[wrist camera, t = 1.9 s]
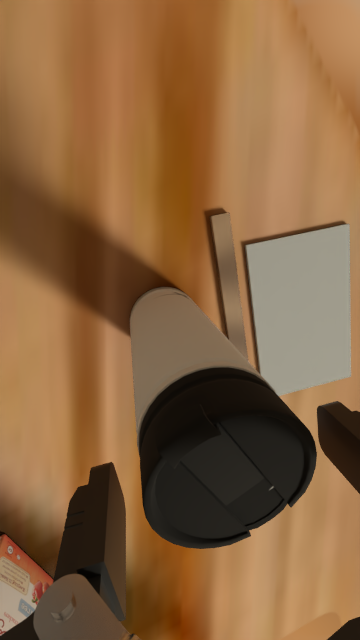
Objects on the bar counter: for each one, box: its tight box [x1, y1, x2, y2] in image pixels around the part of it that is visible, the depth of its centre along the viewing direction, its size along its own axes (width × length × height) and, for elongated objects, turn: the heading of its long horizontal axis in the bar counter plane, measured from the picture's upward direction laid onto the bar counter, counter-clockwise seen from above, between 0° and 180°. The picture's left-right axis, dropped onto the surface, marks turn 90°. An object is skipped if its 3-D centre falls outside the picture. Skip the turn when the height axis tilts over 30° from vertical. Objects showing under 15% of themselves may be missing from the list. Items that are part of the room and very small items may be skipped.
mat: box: [245, 224, 351, 396], centre depth 31 cm, size 16×10×1 cm, turn 10°
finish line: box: [210, 213, 248, 360], centre depth 30 cm, size 22×2×1 cm, turn 10°
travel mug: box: [130, 287, 317, 549], centre depth 19 cm, size 6×7×20 cm
